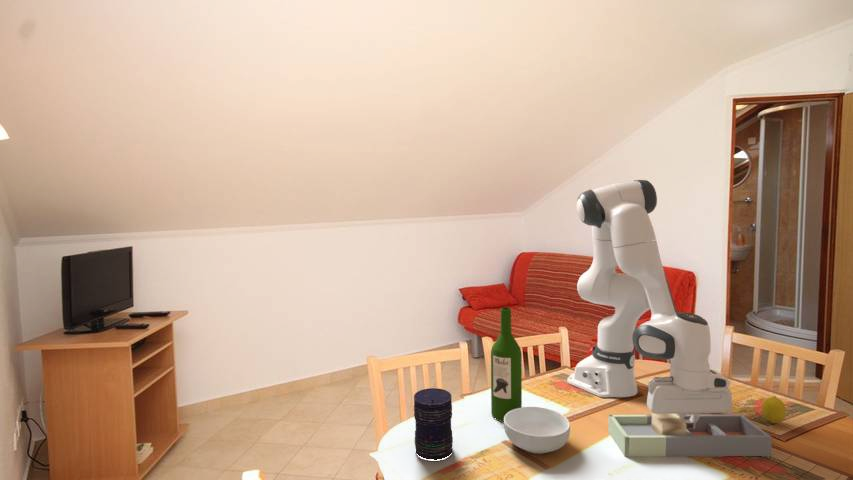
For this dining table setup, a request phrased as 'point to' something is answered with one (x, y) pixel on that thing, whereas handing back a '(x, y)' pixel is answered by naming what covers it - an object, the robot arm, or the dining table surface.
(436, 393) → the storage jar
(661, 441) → the tray
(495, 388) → the wine bottle
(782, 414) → the lemon
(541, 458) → the dining table surface
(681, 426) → the block
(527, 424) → the cereal bowl
